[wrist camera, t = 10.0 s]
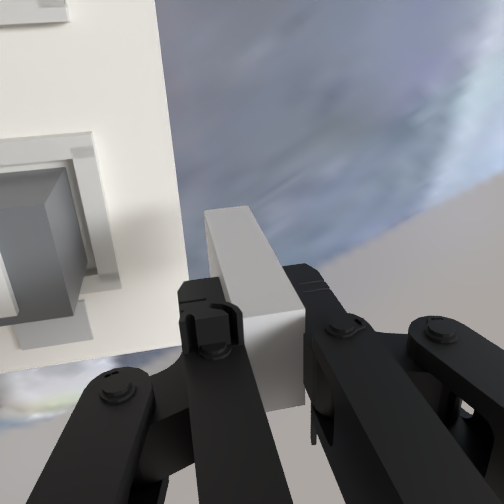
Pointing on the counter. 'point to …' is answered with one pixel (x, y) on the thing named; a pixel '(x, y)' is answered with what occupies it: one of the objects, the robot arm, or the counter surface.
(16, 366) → the switch board
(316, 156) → the counter surface
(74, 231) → the grey cube
